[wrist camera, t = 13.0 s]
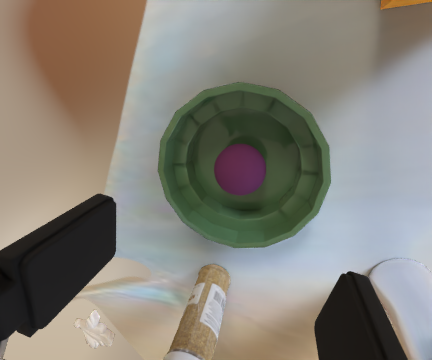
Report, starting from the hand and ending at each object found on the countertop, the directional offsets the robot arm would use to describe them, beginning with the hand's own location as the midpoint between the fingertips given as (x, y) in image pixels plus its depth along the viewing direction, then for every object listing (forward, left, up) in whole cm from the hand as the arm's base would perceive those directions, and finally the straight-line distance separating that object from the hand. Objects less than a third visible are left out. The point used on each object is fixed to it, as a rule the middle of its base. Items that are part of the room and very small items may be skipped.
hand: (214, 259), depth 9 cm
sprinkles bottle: (+18, -1, -17) cm, 25 cm away
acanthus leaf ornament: (+39, -20, -17) cm, 46 cm away
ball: (+1, -1, -16) cm, 16 cm away
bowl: (+1, -1, -17) cm, 17 cm away
